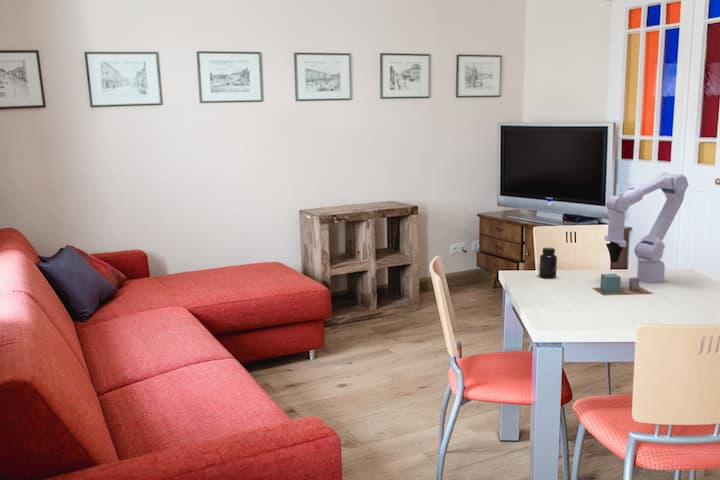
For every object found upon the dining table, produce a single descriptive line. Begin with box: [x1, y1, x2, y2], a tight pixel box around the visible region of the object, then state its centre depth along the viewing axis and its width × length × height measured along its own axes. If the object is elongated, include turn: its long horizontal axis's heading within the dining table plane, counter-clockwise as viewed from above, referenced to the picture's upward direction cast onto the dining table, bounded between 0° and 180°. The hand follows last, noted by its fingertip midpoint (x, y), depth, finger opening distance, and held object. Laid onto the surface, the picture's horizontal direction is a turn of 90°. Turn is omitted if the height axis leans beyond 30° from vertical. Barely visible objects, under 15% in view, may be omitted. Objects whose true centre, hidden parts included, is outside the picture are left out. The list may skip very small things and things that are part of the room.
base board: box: [591, 285, 654, 296], centre depth 248 cm, size 19×11×1 cm, turn 94°
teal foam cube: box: [599, 273, 622, 293], centre depth 247 cm, size 5×5×6 cm
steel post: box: [628, 277, 640, 291], centre depth 247 cm, size 3×3×5 cm
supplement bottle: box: [538, 247, 558, 279], centre depth 273 cm, size 7×7×12 cm
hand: (614, 262), depth 257 cm, fingers closed
